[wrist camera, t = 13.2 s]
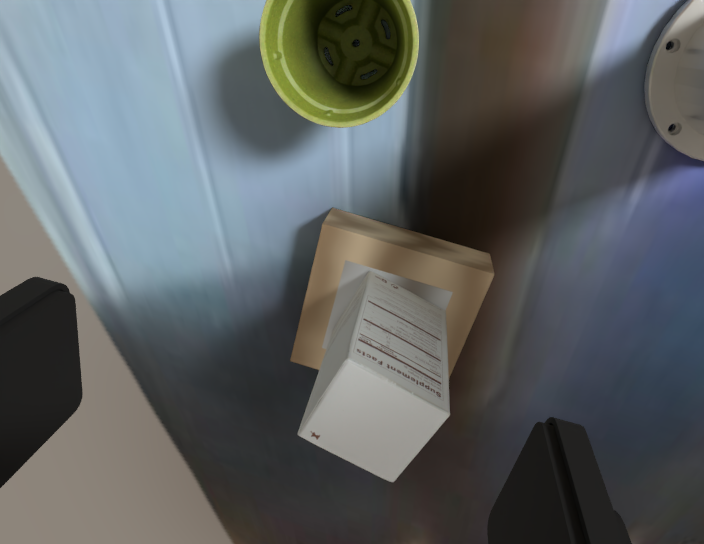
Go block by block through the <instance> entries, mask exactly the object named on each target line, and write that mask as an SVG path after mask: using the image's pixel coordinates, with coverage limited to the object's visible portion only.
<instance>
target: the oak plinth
mask: <svg viewBox="0 0 704 544" xmlns="http://www.w3.org/2000/svg"><path fill="white" fill-rule="evenodd" d="M369 271H372V272H374V273H376V274H378V275H380V276H382V277H384V278H386V279H388V280H389V281H391V282H393V283H395V284H397V285H399V286H401V287H402V288H404V289H406V290H408V291H410V292H412V293H413V294H415V295H417V296H419V297H421V298H423V299H425V300H426V301H428V302H430V303H432V304H434V305H436V306H437V307H439V308H441V309H443V310H444V311H446V324H447V349H448V375H449V377H450V375H451V373H452V371H453V368H454V366H455V364H456V361H457V359H458V357H459V355H460V352H461V350H462V348H463V345H464V343H465V341H466V339H467V336H468V334H469V332H470V329H471V327H472V325H473V323H474V320H475V318H476V316H477V313H478V311H479V309H480V306H481V304H482V302H483V300H484V297H485V295H486V293H487V290H488V288H489V286H490V284H491V281H492V279H493V277H494V270H493V265H492V261H491V257H490V254H489V253H485V252H482V251H478V250H475V249H472V248H468V247H465V246H461V245H458V244H455V243H451V242H448V241H444V240H441V239H438V238H434V237H431V236H427V235H424V234H421V233H417V232H414V231H410V230H407V229H404V228H400V227H397V226H393V225H390V224H387V223H383V222H380V221H376V220H373V219H369V218H366V217H363V216H359V215H356V214H352V213H349V212H346V211H342V210H339V209H335V208H332V209H331V211H330V212H329V214H328V215H327V217H326V219H325V220H324V222H323V224H322V228H321V232H320V237H319V241H318V245H317V249H316V253H315V258H314V262H313V266H312V270H311V275H310V279H309V283H308V287H307V292H306V296H305V300H304V304H303V309H302V313H301V317H300V321H299V326H298V330H297V334H296V338H295V342H294V347H293V351H292V355H291V359H290V361H291V362H295V363H298V364H301V365H305V366H308V367H311V368H314V369H318V370H319V369H320V366H321V364H322V361H323V358H324V355H325V352H326V349H327V346H328V343H329V340H330V337H331V335H332V331H333V330H334V328H335V326H336V325H337V323H338V321H339V320H340V318H341V316H342V315H343V313H344V311H345V310H346V308H347V306H348V304H349V303H350V301H351V299H352V298H353V296H354V294H355V293H356V291H357V290H358V288H359V286H360V285H361V283H362V282H363V280H364V278H365V277H366V275H367V274H368V272H369Z"/></svg>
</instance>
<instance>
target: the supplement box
mask: <svg viewBox="0 0 704 544" xmlns="http://www.w3.org/2000/svg"><path fill="white" fill-rule="evenodd" d="M449 416H450V405H449V375H448V349H447V324H446V311H444V310H443V309H441V308H439V307H437V306H436V305H434V304H432V303H430V302H428V301H426V300H425V299H423V298H421V297H419V296H417V295H415V294H413V293H412V292H410V291H408V290H406V289H404V288H402V287H401V286H399V285H397V284H395V283H393V282H391V281H389V280H388V279H386V278H384V277H382V276H380V275H378V274H376V273H374V272H372V271H369V272H368V274H367V275H366V277H365V278H364V280H363V282H362V283H361V285H360V286H359V288H358V290H357V291H356V293H355V294H354V296H353V298H352V299H351V301H350V303H349V304H348V306H347V308H346V310H345V311H344V313H343V315H342V316H341V318H340V320H339V321H338V323H337V325H336V326H335V328H334V330H333V331H332V335H331V337H330V340H329V343H328V346H327V349H326V352H325V355H324V358H323V361H322V364H321V366H320V369H319V372H318V375H317V378H316V381H315V384H314V387H313V390H312V393H311V396H310V399H309V401H308V404H307V407H306V410H305V413H304V416H303V419H302V422H301V425H300V428H299V431H298V436H300V437H302V438H304V439H306V440H308V441H309V442H311V443H313V444H315V445H317V446H319V447H321V448H323V449H325V450H327V451H329V452H331V453H333V454H335V455H337V456H339V457H341V458H343V459H345V460H347V461H349V462H351V463H353V464H355V465H357V466H359V467H361V468H363V469H365V470H367V471H369V472H371V473H373V474H375V475H377V476H379V477H381V478H383V479H385V480H388V481H390V482H394V481H395V480H396V479H397V477H398V476H399V475H400V474H401V473H402V471H403V470H404V469H405V468H406V467H407V466H408V464H409V463H410V462H411V461H412V460H413V458H414V457H415V456H416V455H417V454H418V453H419V451H420V450H421V449H422V448H423V447H424V445H425V444H426V443H427V442H428V441H429V439H430V438H431V437H432V436H433V435H434V433H435V432H436V431H437V430H438V429H439V428H440V426H441V425H442V424H443V423H444V422H445V420H446V419H447V418H448V417H449Z"/></svg>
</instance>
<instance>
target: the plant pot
mask: <svg viewBox="0 0 704 544" xmlns="http://www.w3.org/2000/svg"><path fill="white" fill-rule="evenodd" d="M347 5H350V6H352V9H351V10H349V11H346V12H344V13H342V14H340V15H339V16H337V17H336V16H335V15H336V12H337V11H338V10H339V9H341V8H343V7H344V6H347ZM381 20H385V21H386V22H387V24H388V27H389V30H390V39H387V38H386V34H385V30H384V27H383V25H382V24H381ZM354 40H359V42H360V43H359V46H357V47H354V46H353V44H352V43H353V41H354ZM259 42H260V51H261V57H262V61H263V65H264V68H265V71H266V74H267V76H268V78H269V80H270V82H271V84H272V86H273V87H274V89H275V91H276V92H277V94H278V95H279V96H280V98H281V99H282V100H283V101H284V102H285V103H286V104H287V105H288V106H289V107H290V108H291V109H293V110H294V111H295V112H296V113H298V114H299V115H301V116H302V117H304V118H306V119H307V120H309V121H312V122H314V123H317V124H320V125H324V126H329V127H338V128H344V127H353V126H357V125H361V124H364V123H367V122H369V121H371V120H373V119H375V118H377V117H379V116H380V115H382V114H383V113H385V112H386V111H387V110H388V109H389V108H391V107H392V106H393V105H394V104H395V103H396V102H397V100H398V99H399V98H400V97H401V95H402V94H403V92H404V91H405V89H406V87H407V86H408V84H409V82H410V80H411V77H412V75H413V72H414V69H415V66H416V62H417V57H418V49H419V33H418V25H417V20H416V16H415V12H414V9H413V7H412V4H411V2H410V0H267V1H266V4H265V6H264V9H263V13H262V17H261V23H260V32H259ZM326 47H327V48H328V50H329V54H330V57H331V59H332V62H333V64H334V65H331V64H330V63H329V62H328V61H327V59H326V57H325V54H324V48H326ZM374 69H377V73H376V74H374V75H372V76H370V77H369V78H368V79H361V78H360V76H361V75H364V74H366V73H369V72H371V71H373V70H374Z"/></svg>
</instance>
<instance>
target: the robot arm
mask: <svg viewBox="0 0 704 544" xmlns="http://www.w3.org/2000/svg"><path fill="white" fill-rule="evenodd" d="M669 41H670V42H671V47H670V48H669V49H668V50H667V49H666V44H667V43H668V42H669ZM644 90H645V104H646V108H647V111H648V115H649V118H650V120H651V122H652V124H653V126H654V128H655V130H656V132H657V133H658V134H659V135H660V136H661V137H662V138H663V139H664V141H665V142H666V143H667V144H669V145H670V146H672V147H673V148H675V149H676V150H678V151H679V152H681V153H683V154H685V155H687V156H689V157H691V158H694V159H698V160H701V161H704V0H687V1H686V2H685V3H684V4H683V5H682V6H681V7H680V8H679V9H678V10H677V12H676V13H675V14H674V16H673V17H672V18H671V19H670V21H669V22H668V23H667V25H666V26H665V27H664V29H663V31H662V33H661V35H660V36H659V38H658V40H657V42H656V44H655V46H654V48H653V51H652V54H651V56H650V59H649V62H648V65H647V70H646V77H645V83H644ZM671 124H673V128H672V129H671V130H668V128H669V126H670V125H671ZM81 399H82V382H81V369H80V357H79V343H78V330H77V318H76V304H75V298H74V296H73V295H72V294H70V292H69V289H68V288H67V286H66V285H64V284H62V283H58V282H54V281H51V280H47V279H43V278H40V277H33V278H30V279H28V280H26V281H24V282H23V283H21V284H19V285H18V286H16V287H14V288H13V289H11V290H9V291H7V292H6V293H4V294H2V295H1V296H0V488H1V487H2V486H3V485H4V484H5V483H6V482H7V481H8V480H9V479H10V478H11V477H12V476H13V475H14V474H15V473H16V471H18V470H19V469H20V468H21V467H22V466H23V464H24V463H25V462H26V461H27V460H28V459H29V458H30V457H31V456H32V455H33V454H34V453H35V452H36V451H37V450H38V449H39V448H40V447H41V446H42V445H43V444H44V443H45V442H46V441H47V440H48V439H49V438H50V437H51V436H52V435H53V434H54V433H55V432H56V431H57V430H58V429H59V428H60V427H61V426H62V425H63V424H64V423H65V421H67V420H68V418H69V417H71V415H72V414H73V413H74V412H75V411H76V410H77V408H78V407H79V405H80V402H81ZM488 544H632V543H631V541H630V538H629V535H628V532H627V529H626V527H625V524H624V522H623V520H622V518H621V516H620V515H619V514H618V513H617V512H616V511H615V510H613V507H612V504H611V502H610V499H609V496H608V493H607V490H606V487H605V484H604V482H603V479H602V476H601V473H600V470H599V467H598V464H597V461H596V459H595V456H594V453H593V450H592V447H591V444H590V441H589V439H588V436H587V433H586V430H585V429H584V427H583V426H581V425H579V424H575V423H571V422H568V421H564V420H560V419H557V418H553V417H550V418H549V419H547V420H546V422H545V423H542V422H537V423H536V424H535V426H534V428H533V429H532V431H531V433H530V435H529V437H528V439H527V441H526V443H525V445H524V447H523V449H522V451H521V453H520V455H519V457H518V459H517V461H516V463H515V465H514V467H513V469H512V471H511V473H510V475H509V477H508V479H507V481H506V483H505V485H504V487H503V489H502V490H501V492H500V494H499V496H498V498H497V500H496V502H495V504H494V506H493V508H492V510H491V513H490V516H489V520H488Z"/></svg>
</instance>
